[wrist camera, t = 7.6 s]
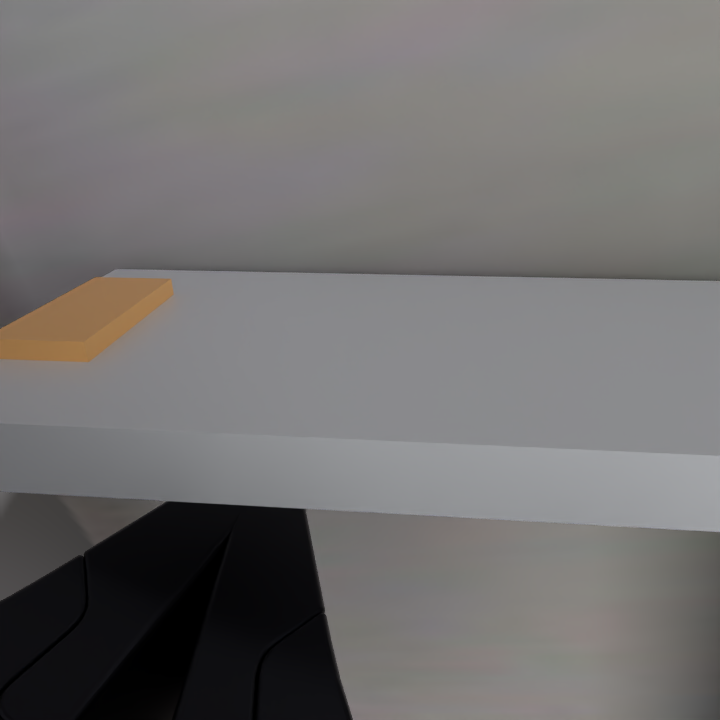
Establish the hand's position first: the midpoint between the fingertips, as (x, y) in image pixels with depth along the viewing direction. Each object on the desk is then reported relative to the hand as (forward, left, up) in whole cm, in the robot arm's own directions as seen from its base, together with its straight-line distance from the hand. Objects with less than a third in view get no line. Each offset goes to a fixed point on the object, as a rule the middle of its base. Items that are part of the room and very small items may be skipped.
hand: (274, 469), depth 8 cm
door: (+2, -4, -2) cm, 5 cm away
